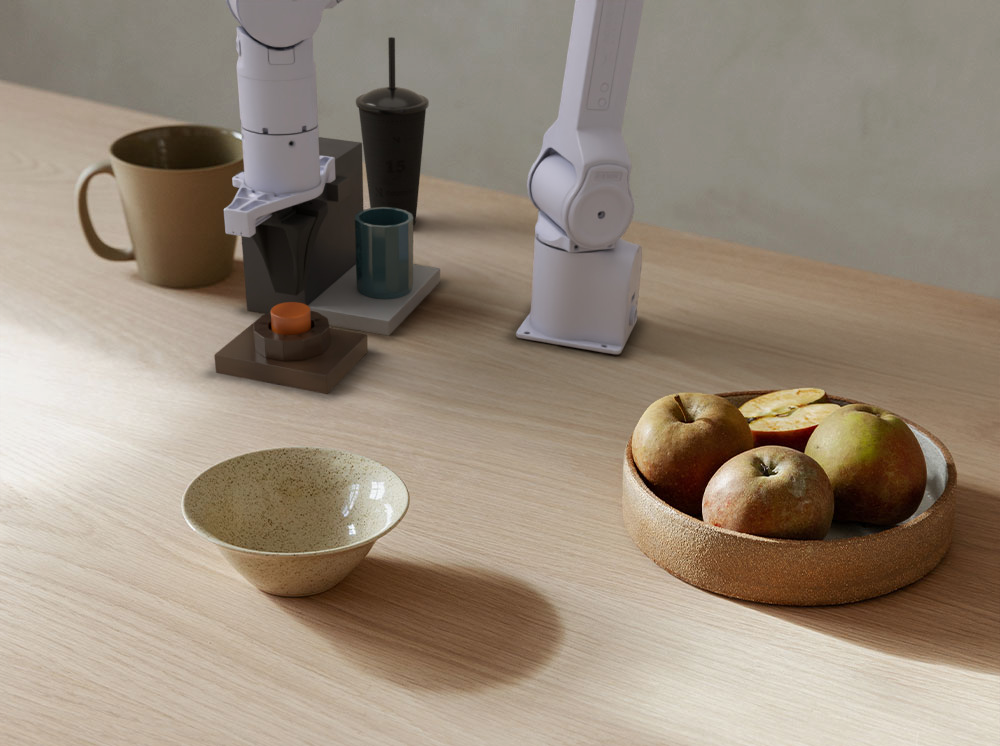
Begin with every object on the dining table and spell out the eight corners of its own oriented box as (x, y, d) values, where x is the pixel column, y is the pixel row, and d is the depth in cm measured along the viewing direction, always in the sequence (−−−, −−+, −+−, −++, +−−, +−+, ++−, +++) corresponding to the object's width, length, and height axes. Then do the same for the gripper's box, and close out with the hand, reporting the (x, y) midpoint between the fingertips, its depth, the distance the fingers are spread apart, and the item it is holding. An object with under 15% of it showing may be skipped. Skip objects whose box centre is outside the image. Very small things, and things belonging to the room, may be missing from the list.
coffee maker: (440, 282, 108) (441, 152, 102) (389, 336, 97) (387, 195, 91) (310, 261, 112) (304, 134, 106) (246, 311, 101) (236, 173, 95)
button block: (368, 352, 94) (367, 314, 93) (327, 394, 88) (325, 355, 86) (262, 333, 97) (260, 296, 95) (215, 372, 90) (212, 334, 89)
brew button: (317, 324, 92) (317, 305, 91) (300, 340, 89) (299, 320, 88) (283, 318, 93) (282, 299, 92) (264, 333, 90) (263, 314, 89)
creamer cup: (421, 281, 104) (421, 211, 101) (399, 303, 100) (399, 230, 97) (370, 273, 106) (369, 203, 102) (347, 294, 101) (345, 222, 98)
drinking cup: (349, 215, 124) (344, 32, 114) (413, 207, 127) (413, 28, 117) (372, 238, 118) (368, 47, 108) (438, 230, 121) (440, 43, 111)
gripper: (277, 97, 90) (286, 252, 96) (180, 143, 78) (197, 318, 84) (356, 106, 88) (360, 264, 95) (270, 155, 76) (281, 333, 82)
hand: (289, 290), depth 89 cm, fingers closed
